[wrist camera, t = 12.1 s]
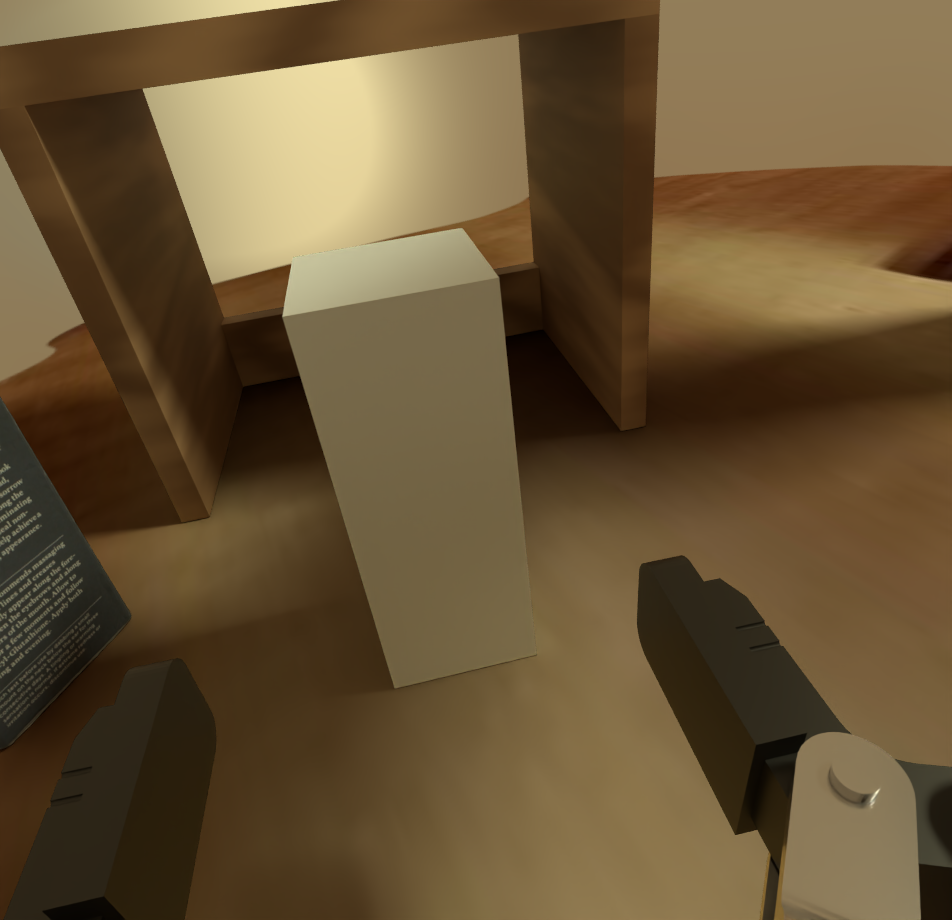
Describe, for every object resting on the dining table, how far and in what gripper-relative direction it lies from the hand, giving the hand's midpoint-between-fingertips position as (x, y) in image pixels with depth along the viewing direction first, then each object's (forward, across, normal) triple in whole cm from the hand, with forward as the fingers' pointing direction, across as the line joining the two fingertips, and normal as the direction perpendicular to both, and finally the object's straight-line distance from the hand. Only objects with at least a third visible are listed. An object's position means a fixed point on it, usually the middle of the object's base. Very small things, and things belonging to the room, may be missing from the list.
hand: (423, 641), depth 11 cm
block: (+7, -1, +8) cm, 11 cm away
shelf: (+24, 0, +7) cm, 25 cm away
